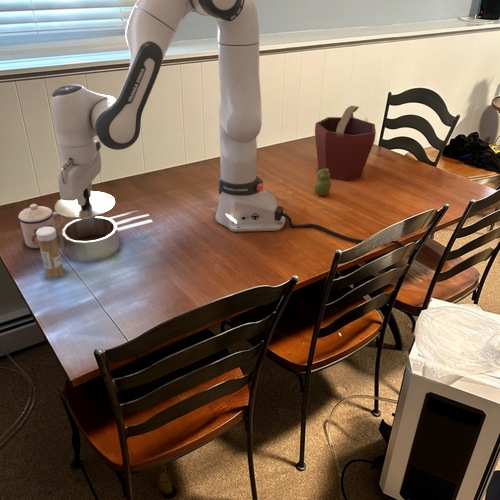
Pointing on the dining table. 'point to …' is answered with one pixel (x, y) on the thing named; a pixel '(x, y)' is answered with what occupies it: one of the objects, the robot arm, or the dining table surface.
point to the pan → (95, 247)
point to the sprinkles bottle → (50, 252)
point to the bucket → (344, 144)
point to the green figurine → (323, 182)
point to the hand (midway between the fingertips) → (85, 201)
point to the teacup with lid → (36, 222)
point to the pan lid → (86, 206)
